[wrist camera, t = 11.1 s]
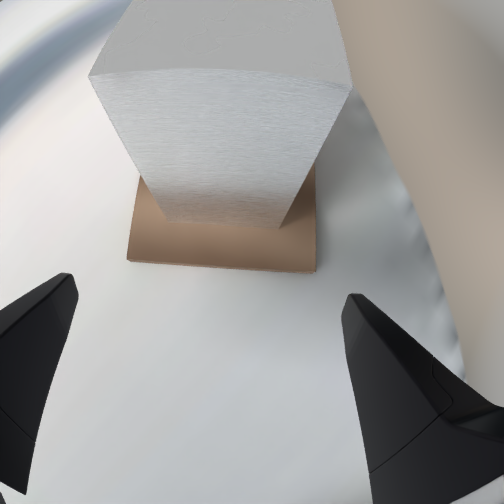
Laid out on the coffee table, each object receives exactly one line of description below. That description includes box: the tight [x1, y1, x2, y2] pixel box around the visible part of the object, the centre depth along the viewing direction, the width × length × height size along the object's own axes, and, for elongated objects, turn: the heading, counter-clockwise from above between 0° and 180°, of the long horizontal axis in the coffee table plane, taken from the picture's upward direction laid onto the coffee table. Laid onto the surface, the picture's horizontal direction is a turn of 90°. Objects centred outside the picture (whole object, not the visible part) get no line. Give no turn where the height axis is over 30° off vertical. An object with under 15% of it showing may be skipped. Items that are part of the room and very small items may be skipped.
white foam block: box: [88, 0, 353, 229], centre depth 12 cm, size 6×6×12 cm
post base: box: [127, 163, 316, 274], centre depth 17 cm, size 11×11×4 cm
